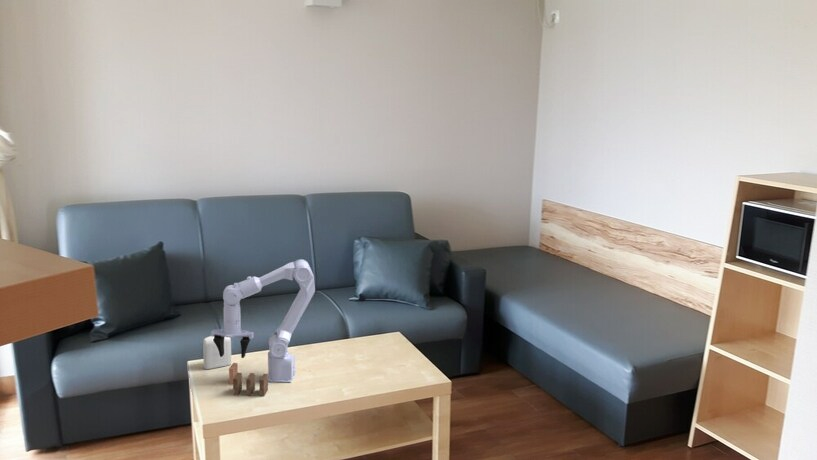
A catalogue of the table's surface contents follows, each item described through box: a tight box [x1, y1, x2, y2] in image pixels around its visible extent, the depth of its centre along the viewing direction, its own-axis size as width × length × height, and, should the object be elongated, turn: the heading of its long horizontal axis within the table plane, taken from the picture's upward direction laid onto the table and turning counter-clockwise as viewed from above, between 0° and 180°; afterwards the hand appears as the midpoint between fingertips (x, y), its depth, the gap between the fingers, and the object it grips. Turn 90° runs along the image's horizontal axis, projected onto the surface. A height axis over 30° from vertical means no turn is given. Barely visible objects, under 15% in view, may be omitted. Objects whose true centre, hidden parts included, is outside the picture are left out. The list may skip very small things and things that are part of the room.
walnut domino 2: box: [245, 372, 256, 397], centre depth 211 cm, size 2×5×6 cm, turn 178°
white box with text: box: [202, 335, 232, 370], centre depth 231 cm, size 10×4×12 cm, turn 123°
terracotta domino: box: [228, 362, 239, 386], centre depth 219 cm, size 2×5×6 cm, turn 178°
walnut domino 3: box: [258, 373, 269, 397], centre depth 211 cm, size 2×5×6 cm, turn 178°
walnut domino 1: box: [232, 372, 243, 396], centre depth 212 cm, size 2×5×6 cm, turn 178°
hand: (232, 356), depth 218 cm, fingers open, 7 cm apart
